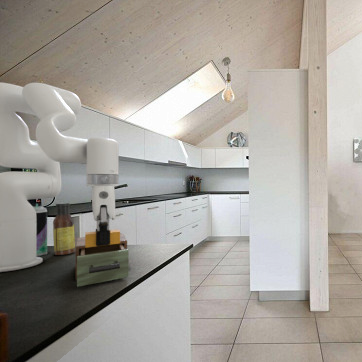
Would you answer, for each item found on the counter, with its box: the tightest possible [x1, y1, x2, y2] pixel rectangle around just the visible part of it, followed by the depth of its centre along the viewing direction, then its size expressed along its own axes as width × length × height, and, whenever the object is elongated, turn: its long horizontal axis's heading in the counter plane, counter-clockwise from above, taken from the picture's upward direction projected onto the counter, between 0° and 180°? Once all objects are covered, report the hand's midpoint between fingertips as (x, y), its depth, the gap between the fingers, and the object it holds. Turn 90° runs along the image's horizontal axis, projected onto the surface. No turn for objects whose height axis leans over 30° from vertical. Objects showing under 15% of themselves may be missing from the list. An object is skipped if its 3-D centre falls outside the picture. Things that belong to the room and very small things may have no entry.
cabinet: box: [75, 232, 128, 281], centre depth 84 cm, size 15×13×10 cm
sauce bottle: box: [52, 202, 76, 256], centre depth 100 cm, size 7×6×20 cm
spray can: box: [32, 202, 48, 257], centre depth 99 cm, size 6×6×20 cm
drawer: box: [76, 243, 130, 288], centre depth 74 cm, size 18×11×8 cm, turn 38°
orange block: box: [84, 228, 121, 248], centre depth 75 cm, size 8×4×4 cm, turn 128°
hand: (102, 242), depth 75 cm, fingers closed on orange block, 4 cm apart
